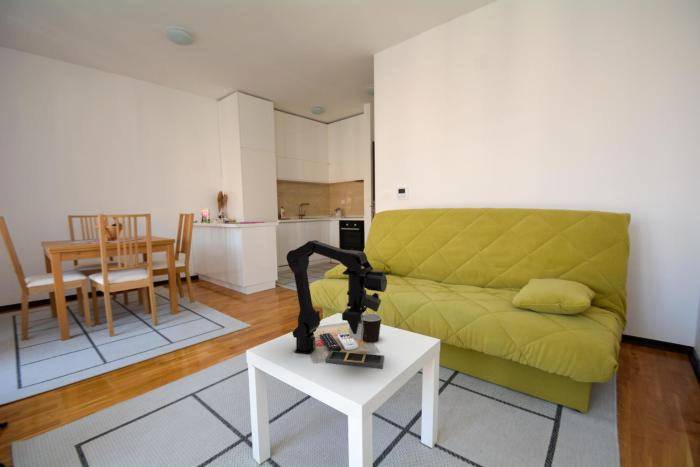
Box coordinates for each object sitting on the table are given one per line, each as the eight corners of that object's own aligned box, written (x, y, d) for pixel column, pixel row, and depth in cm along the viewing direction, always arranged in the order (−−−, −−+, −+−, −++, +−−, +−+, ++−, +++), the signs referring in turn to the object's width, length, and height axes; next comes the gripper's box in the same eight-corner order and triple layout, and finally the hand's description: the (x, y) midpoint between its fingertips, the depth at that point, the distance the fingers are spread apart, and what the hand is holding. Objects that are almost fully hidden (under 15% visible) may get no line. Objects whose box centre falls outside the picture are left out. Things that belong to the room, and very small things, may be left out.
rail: (325, 364, 104) (325, 358, 104) (330, 355, 110) (330, 350, 110) (382, 370, 100) (382, 364, 100) (384, 360, 106) (384, 355, 106)
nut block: (349, 338, 103) (349, 322, 102) (351, 333, 107) (351, 317, 106) (361, 339, 102) (361, 323, 101) (363, 334, 106) (363, 318, 105)
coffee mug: (380, 346, 117) (380, 321, 117) (358, 344, 119) (358, 320, 118) (382, 334, 129) (382, 311, 128) (363, 332, 131) (363, 310, 130)
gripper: (376, 297, 92) (375, 345, 93) (382, 282, 110) (381, 322, 112) (341, 295, 94) (341, 342, 96) (352, 280, 112) (352, 320, 114)
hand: (356, 331), depth 104 cm, fingers closed on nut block, 4 cm apart
